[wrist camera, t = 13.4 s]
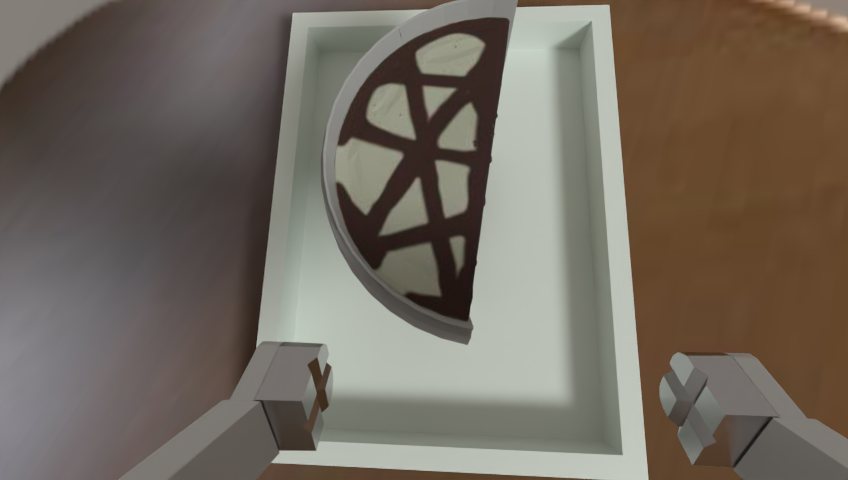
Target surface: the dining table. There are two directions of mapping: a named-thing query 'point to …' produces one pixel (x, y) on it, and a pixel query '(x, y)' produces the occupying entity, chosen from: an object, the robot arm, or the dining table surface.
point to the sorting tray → (494, 273)
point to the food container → (419, 160)
